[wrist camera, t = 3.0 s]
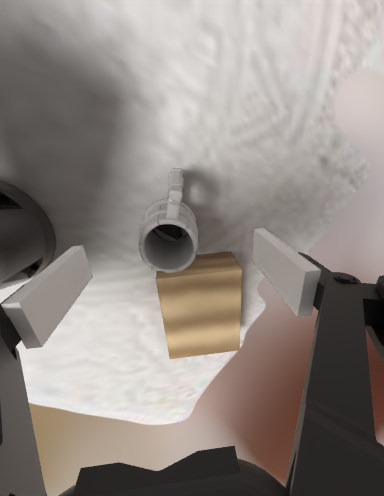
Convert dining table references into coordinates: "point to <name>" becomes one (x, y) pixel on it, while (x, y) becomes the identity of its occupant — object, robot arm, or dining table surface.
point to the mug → (168, 250)
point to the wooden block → (202, 306)
